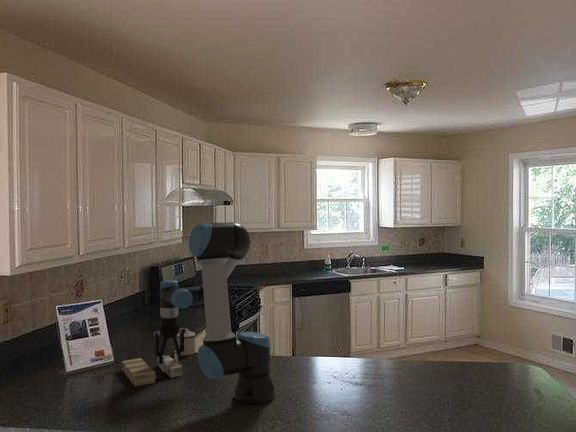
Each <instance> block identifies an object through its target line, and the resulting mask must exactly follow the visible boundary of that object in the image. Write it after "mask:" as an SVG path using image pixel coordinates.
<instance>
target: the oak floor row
mask: <svg viewBox="0 0 576 432" xmlns="http://www.w3.org/2000/svg"><path fill="white" fill-rule="evenodd" d="M121 365H122V366H121V367H122V368H121V371H122V372H123V373H124V375H125V376H126V377H127V379H128V380H129V381H130V383H131V384H133V386H134V387H139V386H140V387H141V386H146V385H149V384H155V383H156V379H157V378H158V375H157V374H156V372H155V371H154V369H152V368H151V367H150V365H148V364H147V362H145V360H144V359H142V358H141V357H139V358H134V359H133V358H132V359H128V360H122V362H121Z"/></svg>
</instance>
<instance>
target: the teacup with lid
mask: <svg viewBox="0 0 576 432" xmlns="http://www.w3.org/2000/svg"><path fill="white" fill-rule="evenodd" d="M184 329H185V333H184V352H181V354H180V356H191V355H194V354H195V353H196V336H197V335H196V333H195V332H192V331H190V330H189V329H188V328H184ZM176 337H177V342H178V345H179V349H180V333H177V334H176Z"/></svg>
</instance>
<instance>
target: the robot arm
mask: <svg viewBox="0 0 576 432" xmlns="http://www.w3.org/2000/svg"><path fill="white" fill-rule="evenodd" d="M250 248H251V236H250V234H249V232H248V230H247V228H245V227H244V226H243V225H242V224H240V223H238V222H204V223H198V224H196V225H195V226H194V227H193V228H192V230H191V232H190V235H189V241H188V249H189V251H190V255H192V256H193V257H194V258H196V262H197V263H198V264H199V265H200V267H201V276H202V277H201V278H202V279H201V280H202V284H201V285H195V286H189V287H179V282H178V280H175V279H165V280H162V281H161V282H160V284H159V285H160V287H159V295H160V296H159V297H160V299H159V302H160V303H159V305H160V306H159V307H160V308H159V309H160V311H159V314H160V318H159V319H160V320H159V321H160V322H159V323H160V327H159V330H158V331H154V332H153V333H152V335H153V338H154V345H153V346H154V353H153V354H154V355H155V357H159V363H160V364H161V368H160V371H162V372H163V373H165V356H166V355H164V353H165V348H166V345H167V341H168V339H172V343H173V346H174V349H175V350H174V351H175V352H174V353H173V354H174V355H173V359H174V360H175V361H176V362H178V363H179V362H180V361H181V355H180V354H181V352H184V333H185V329H186V328H183V327H181V328H180V327H179V309H186V308H188V307H190V306H194V305H201V304H204V317H205V328H206V334H205V336H204V337H203V338H202V345H200V346H199V348H198V349H197V353H196V354H197V361H198V366H199V368H200V370H201V372H202V373H203V375H204V376H205V377H206V378H208V379H210V380H213V379H219V378H220V379H222V378H224V377H227V376H232V375H235V374H238V375H237V376H238V377H237V379H236V382H235V383H236V384H235V386H234V390H233V399H234V400H235V401H236V402H238V403H240V404H246V405H260V404H265V403H267V402H271V401H273V399H275V396H276V393H275V392H276V388H275V385H274V383H273V380H272V376H271V343H270V337H269V336H268V335H267V334H265V333H262V332H255V331H244V332H243V331H242V332H239V333H238V334H237V336H236V334H235V333H234V332H232V326H231V316H230V315H231V313H230V302H229V291H228V290H229V289H228V279H229V277H230V275H231V273H232V272H233V271H234V269H235V267H236V266H237V264H238V263H239V262H240V261H241V260H244V259H245V257H246V256H247V254H248V253H249V251H250ZM178 332H179V333H180V349H179V345H178V342H177V334H179V333H178ZM160 335H161V337H162V338H161V343H160Z"/></svg>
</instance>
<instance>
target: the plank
mask: <svg viewBox="0 0 576 432" xmlns="http://www.w3.org/2000/svg"><path fill="white" fill-rule="evenodd" d="M164 356H165V372H164V373H165V374H166V375H168V376H169V378H176V377H182V376H183V373H184V372H183V365H182V364H180V363H179V361H178V362H176V361H175V360H174V357H173V358H172V357H171V355H168V354H167V355H164ZM157 366H158V367H159V368H160V369H161V364H160V363H159V356H157Z"/></svg>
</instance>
